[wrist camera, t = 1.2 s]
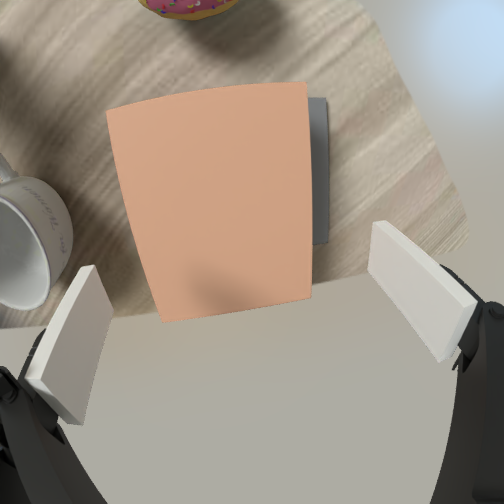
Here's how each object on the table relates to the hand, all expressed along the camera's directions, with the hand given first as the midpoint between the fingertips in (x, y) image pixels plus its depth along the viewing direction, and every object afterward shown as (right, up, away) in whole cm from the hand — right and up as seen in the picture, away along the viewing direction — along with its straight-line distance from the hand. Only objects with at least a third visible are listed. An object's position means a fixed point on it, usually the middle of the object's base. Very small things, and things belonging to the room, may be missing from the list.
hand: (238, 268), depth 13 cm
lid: (-2, +4, +8) cm, 9 cm away
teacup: (-20, +5, +9) cm, 23 cm away
